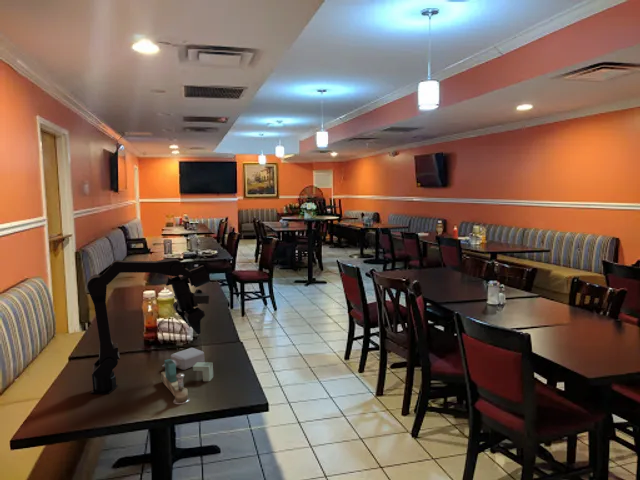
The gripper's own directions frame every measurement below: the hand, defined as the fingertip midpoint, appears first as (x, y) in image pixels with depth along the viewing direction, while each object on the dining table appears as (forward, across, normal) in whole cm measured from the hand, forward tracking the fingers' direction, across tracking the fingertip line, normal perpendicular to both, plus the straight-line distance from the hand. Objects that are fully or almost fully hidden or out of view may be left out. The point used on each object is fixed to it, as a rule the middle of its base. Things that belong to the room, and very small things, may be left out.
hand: (195, 330), depth 173 cm
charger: (+15, +8, +8) cm, 19 cm away
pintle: (+11, -22, +15) cm, 29 cm away
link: (+11, -13, +15) cm, 23 cm away
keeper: (+15, -9, +4) cm, 18 cm away
